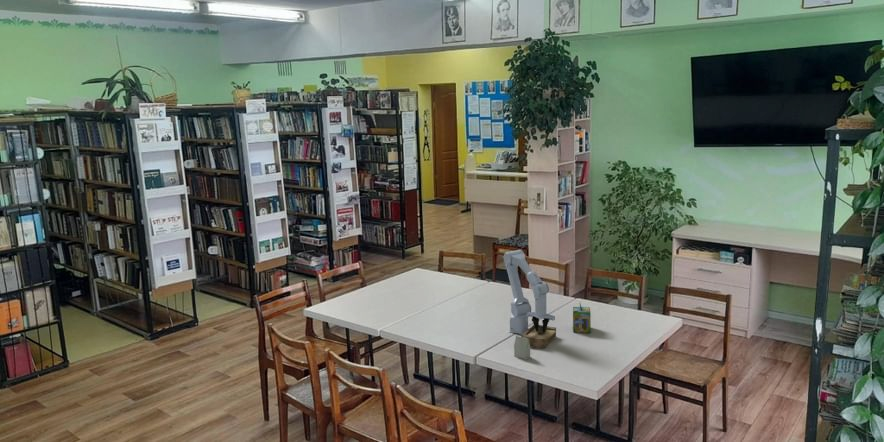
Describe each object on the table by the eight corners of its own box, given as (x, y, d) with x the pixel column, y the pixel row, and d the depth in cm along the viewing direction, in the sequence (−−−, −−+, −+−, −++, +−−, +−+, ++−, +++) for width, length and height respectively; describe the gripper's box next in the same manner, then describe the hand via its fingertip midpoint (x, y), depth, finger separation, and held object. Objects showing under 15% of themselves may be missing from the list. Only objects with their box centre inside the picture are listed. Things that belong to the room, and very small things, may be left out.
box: (521, 345, 309) (521, 335, 308) (534, 332, 324) (534, 324, 323) (543, 349, 303) (543, 339, 302) (555, 336, 318) (556, 327, 317)
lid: (525, 337, 309) (525, 329, 308) (536, 327, 322) (535, 320, 321) (546, 341, 303) (546, 333, 303) (556, 331, 316) (556, 323, 315)
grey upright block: (526, 359, 292) (526, 340, 290) (514, 356, 296) (514, 336, 294) (530, 357, 294) (530, 337, 292) (518, 353, 299) (518, 334, 297)
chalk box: (590, 333, 321) (591, 306, 318) (572, 332, 323) (573, 306, 320) (590, 326, 330) (590, 300, 327) (572, 326, 332) (572, 300, 329)
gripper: (524, 306, 310) (524, 331, 312) (551, 310, 303) (551, 336, 305) (529, 302, 316) (529, 327, 318) (556, 306, 308) (556, 331, 311)
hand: (540, 331), depth 312 cm, fingers closed on lid, 3 cm apart
